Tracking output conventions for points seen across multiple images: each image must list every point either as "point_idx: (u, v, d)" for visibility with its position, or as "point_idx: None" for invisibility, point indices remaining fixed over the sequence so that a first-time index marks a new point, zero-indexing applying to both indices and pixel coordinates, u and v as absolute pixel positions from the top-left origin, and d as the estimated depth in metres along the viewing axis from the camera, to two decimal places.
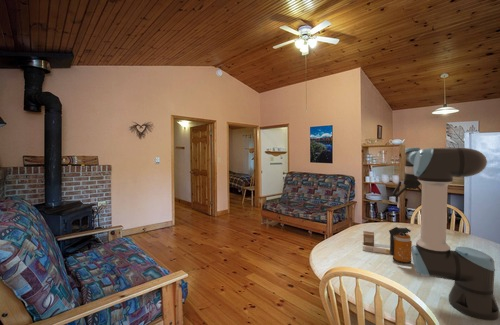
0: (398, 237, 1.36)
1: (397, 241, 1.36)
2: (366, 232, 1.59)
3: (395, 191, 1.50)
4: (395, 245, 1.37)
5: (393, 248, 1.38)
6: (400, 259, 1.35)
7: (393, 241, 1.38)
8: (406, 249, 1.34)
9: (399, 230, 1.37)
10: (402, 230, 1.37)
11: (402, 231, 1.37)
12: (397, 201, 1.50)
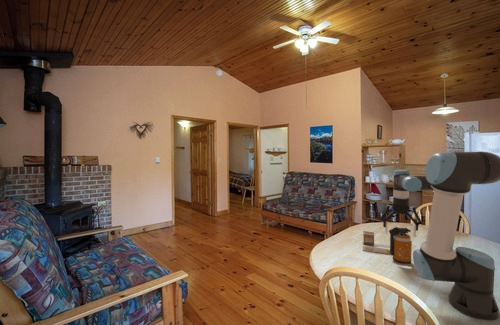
0: (398, 237, 1.36)
1: (397, 241, 1.36)
2: (366, 232, 1.59)
3: (383, 216, 1.40)
4: (395, 245, 1.37)
5: (393, 248, 1.38)
6: (400, 259, 1.35)
7: (393, 241, 1.38)
8: (406, 249, 1.34)
9: (399, 230, 1.37)
10: (402, 230, 1.37)
11: (402, 231, 1.37)
12: (385, 226, 1.41)
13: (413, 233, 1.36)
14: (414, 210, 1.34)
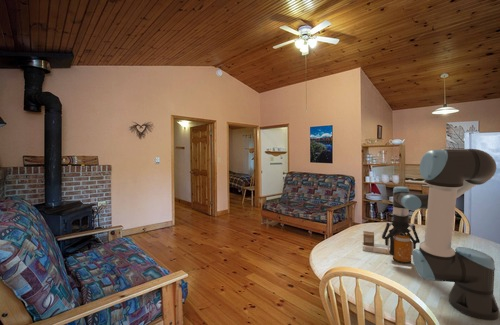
0: (398, 237, 1.36)
1: (397, 241, 1.36)
2: (366, 232, 1.59)
3: (384, 234, 1.40)
4: (395, 245, 1.38)
5: (393, 248, 1.38)
6: (400, 259, 1.36)
7: (393, 241, 1.38)
8: (406, 249, 1.34)
9: (399, 230, 1.37)
10: None
11: (402, 231, 1.37)
12: (387, 244, 1.41)
13: (411, 251, 1.37)
14: (413, 228, 1.34)
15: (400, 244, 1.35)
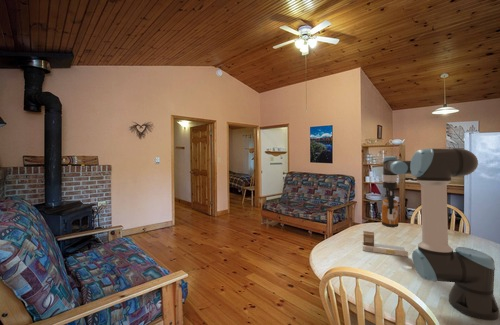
0: None
1: None
2: (366, 232, 1.59)
3: None
4: None
5: None
6: None
7: None
8: (382, 211, 1.52)
9: None
10: None
11: None
12: None
13: None
14: (388, 194, 1.47)
15: None
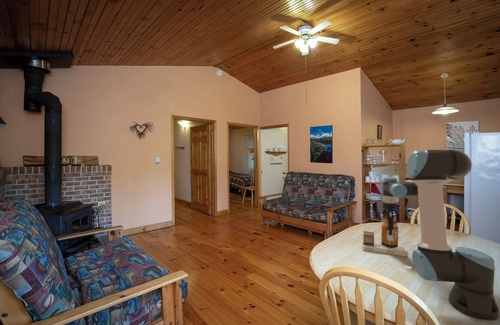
0: None
1: None
2: (366, 232, 1.59)
3: None
4: None
5: None
6: None
7: None
8: (382, 231, 1.53)
9: (386, 215, 1.54)
10: None
11: None
12: None
13: None
14: (388, 215, 1.47)
15: None
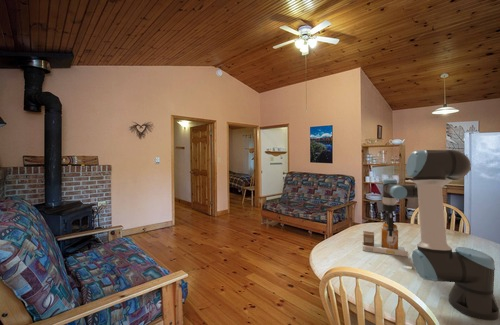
0: None
1: None
2: (366, 232, 1.59)
3: None
4: None
5: None
6: None
7: None
8: (382, 235, 1.53)
9: (386, 219, 1.54)
10: (387, 220, 1.52)
11: (387, 220, 1.52)
12: None
13: None
14: (388, 216, 1.47)
15: None
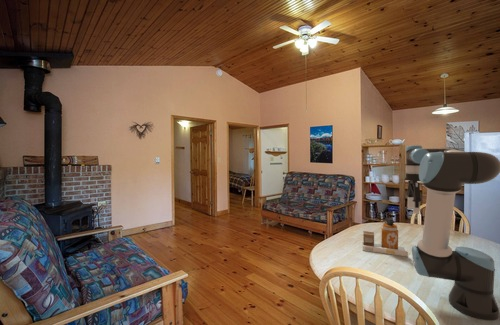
0: None
1: None
2: (366, 232, 1.59)
3: (407, 190, 1.46)
4: None
5: None
6: None
7: None
8: (382, 235, 1.53)
9: (386, 219, 1.54)
10: (387, 220, 1.52)
11: (387, 220, 1.52)
12: None
13: None
14: (413, 186, 1.32)
15: None
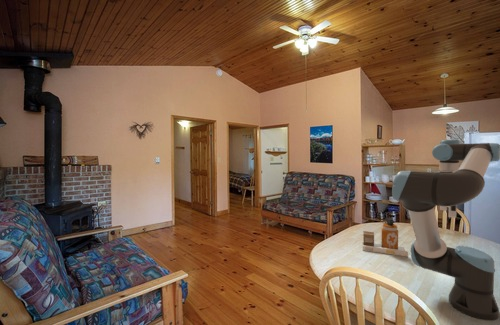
0: None
1: None
2: (366, 232, 1.59)
3: None
4: None
5: None
6: None
7: None
8: (382, 235, 1.53)
9: (386, 219, 1.54)
10: (387, 220, 1.52)
11: (387, 220, 1.52)
12: None
13: None
14: None
15: None
